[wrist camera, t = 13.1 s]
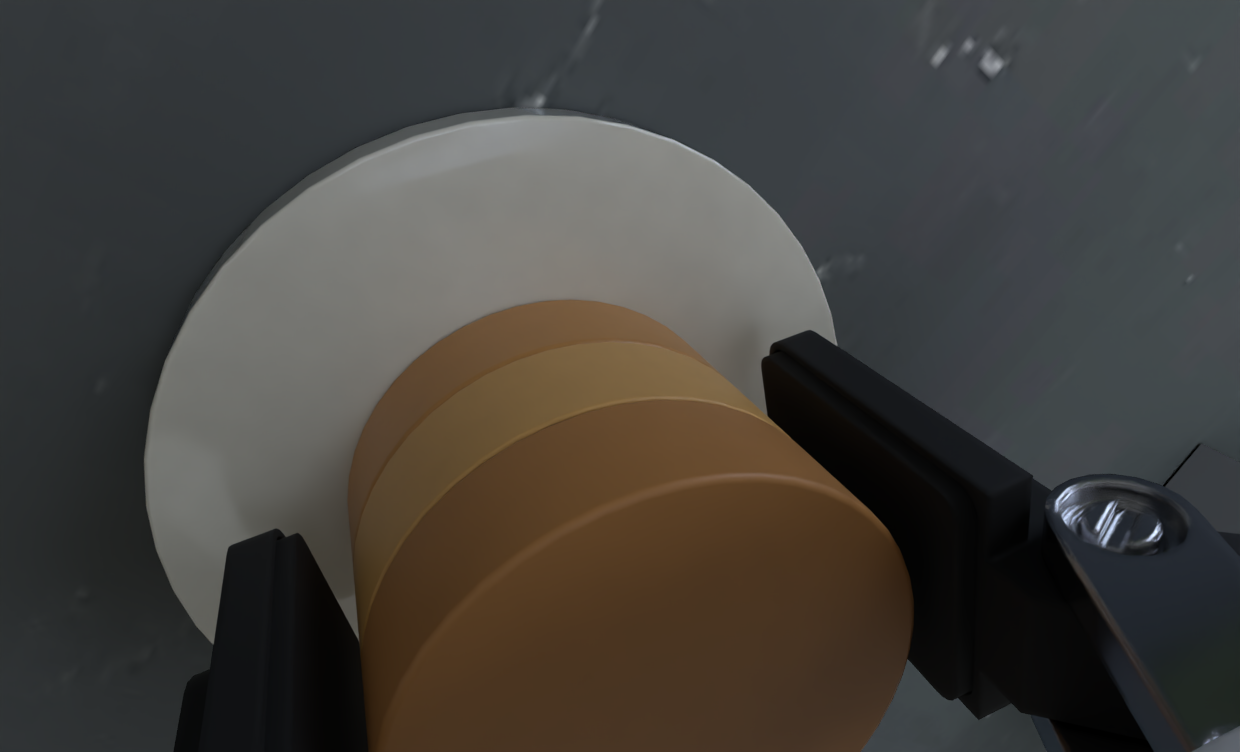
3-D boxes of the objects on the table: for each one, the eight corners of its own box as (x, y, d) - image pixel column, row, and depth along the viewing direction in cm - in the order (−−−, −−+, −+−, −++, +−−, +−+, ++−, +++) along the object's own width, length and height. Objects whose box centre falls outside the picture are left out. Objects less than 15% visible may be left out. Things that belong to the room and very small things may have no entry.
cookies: (266, 567, 10) (242, 900, 7) (498, 216, 9) (626, 364, 6) (588, 669, 13) (702, 941, 9) (789, 405, 12) (1006, 590, 9)
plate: (10, 603, 10) (-11, 647, 10) (417, -82, 9) (428, -88, 8) (592, 748, 15) (605, 782, 15) (916, 334, 14) (947, 352, 13)
